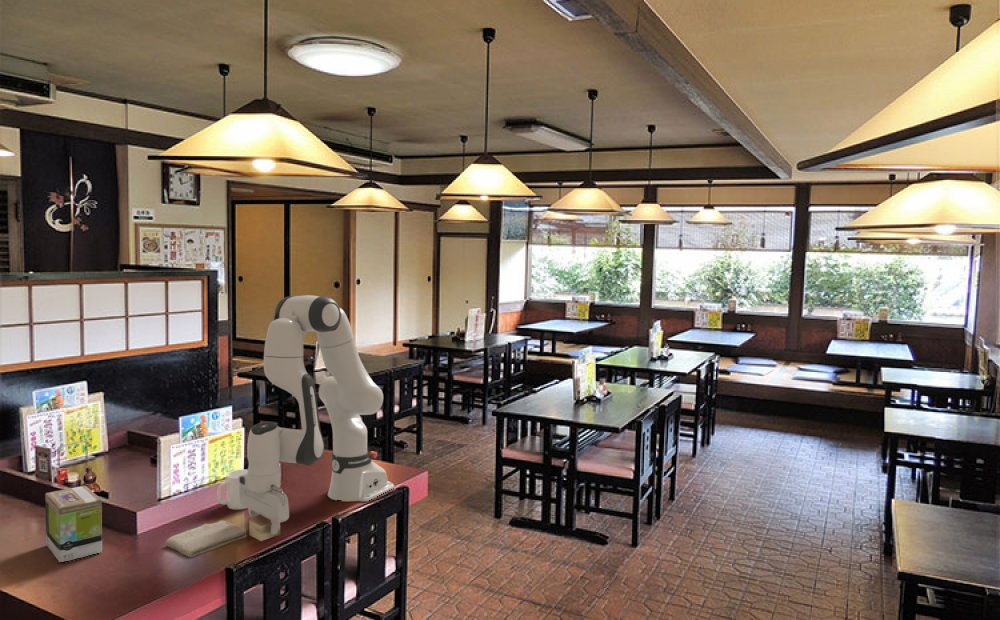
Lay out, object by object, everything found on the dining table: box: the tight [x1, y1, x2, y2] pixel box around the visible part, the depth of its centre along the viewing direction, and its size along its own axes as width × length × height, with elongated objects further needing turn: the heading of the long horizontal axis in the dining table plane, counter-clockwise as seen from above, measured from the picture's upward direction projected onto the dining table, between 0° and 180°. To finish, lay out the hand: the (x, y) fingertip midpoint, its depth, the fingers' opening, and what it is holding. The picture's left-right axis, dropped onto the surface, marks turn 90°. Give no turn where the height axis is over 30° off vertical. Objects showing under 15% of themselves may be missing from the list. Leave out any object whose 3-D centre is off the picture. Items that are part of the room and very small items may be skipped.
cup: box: [216, 468, 248, 511], centre depth 212 cm, size 8×12×10 cm
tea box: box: [44, 485, 103, 563], centre depth 180 cm, size 15×10×15 cm
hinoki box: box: [248, 514, 281, 542], centre depth 192 cm, size 6×6×5 cm
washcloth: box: [165, 520, 248, 558], centre depth 187 cm, size 12×18×3 cm, turn 146°
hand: (264, 528), depth 192 cm, fingers open, 8 cm apart
